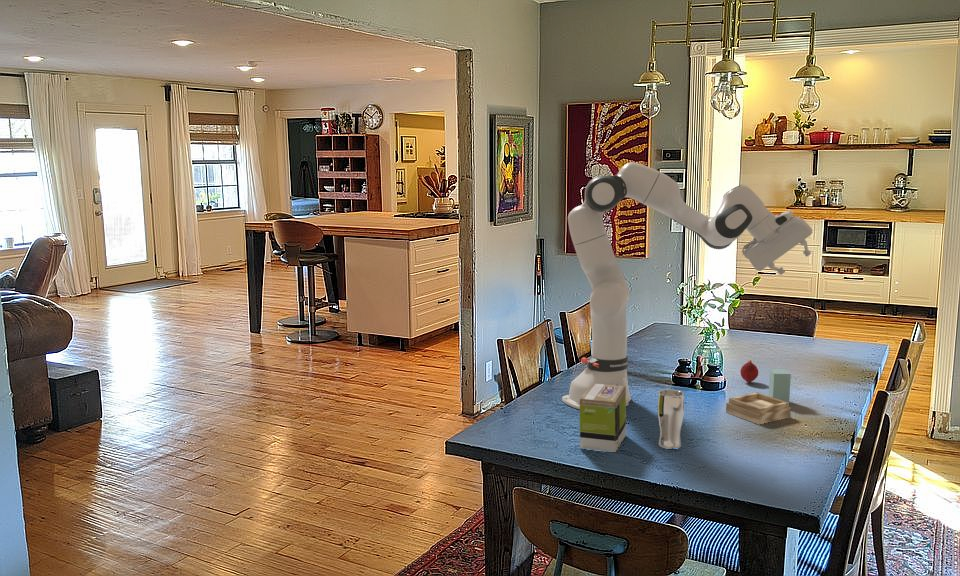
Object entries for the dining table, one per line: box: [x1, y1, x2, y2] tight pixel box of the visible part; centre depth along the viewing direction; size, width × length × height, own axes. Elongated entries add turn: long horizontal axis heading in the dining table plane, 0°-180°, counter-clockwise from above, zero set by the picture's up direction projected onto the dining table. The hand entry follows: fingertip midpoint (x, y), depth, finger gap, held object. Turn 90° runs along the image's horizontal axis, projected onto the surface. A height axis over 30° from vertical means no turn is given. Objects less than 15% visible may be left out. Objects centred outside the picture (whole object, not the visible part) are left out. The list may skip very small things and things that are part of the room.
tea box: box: [579, 383, 627, 453], centre depth 216 cm, size 15×10×15 cm
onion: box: [740, 359, 759, 384], centre depth 270 cm, size 6×6×8 cm
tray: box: [725, 392, 792, 426], centre depth 237 cm, size 13×13×4 cm
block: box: [768, 368, 792, 404], centre depth 248 cm, size 5×5×10 cm
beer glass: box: [657, 388, 685, 449], centre depth 212 cm, size 7×7×15 cm
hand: (795, 264), depth 240 cm, fingers open, 8 cm apart
